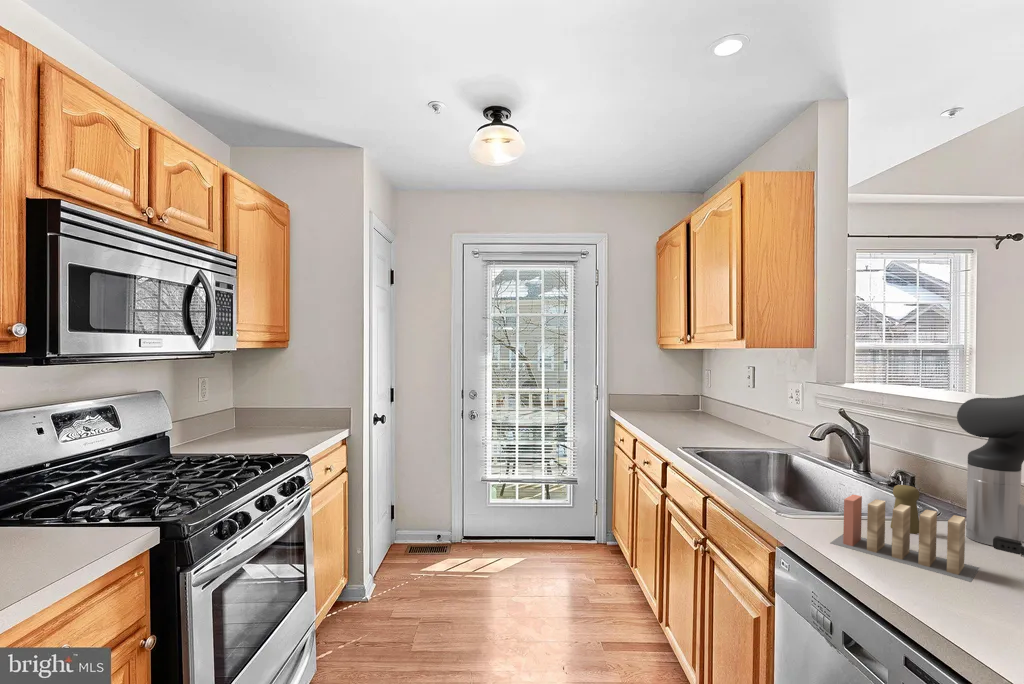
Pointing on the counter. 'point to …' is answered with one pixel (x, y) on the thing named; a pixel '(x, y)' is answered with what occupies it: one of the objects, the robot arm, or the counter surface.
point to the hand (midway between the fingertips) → (993, 541)
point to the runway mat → (911, 559)
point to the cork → (908, 504)
